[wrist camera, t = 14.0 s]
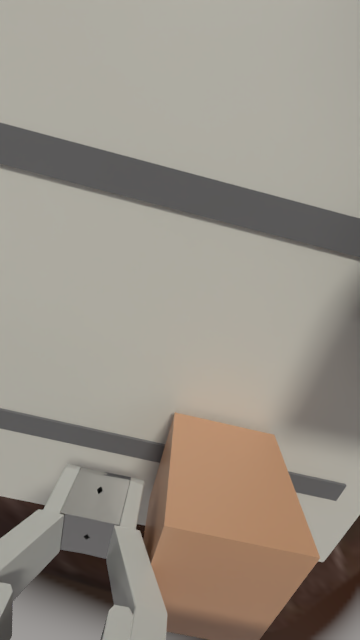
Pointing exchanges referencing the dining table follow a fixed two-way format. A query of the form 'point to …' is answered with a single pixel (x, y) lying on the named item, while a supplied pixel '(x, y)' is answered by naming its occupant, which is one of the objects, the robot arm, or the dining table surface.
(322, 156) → the fader panel
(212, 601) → the block
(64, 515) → the robot arm
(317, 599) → the dining table surface
